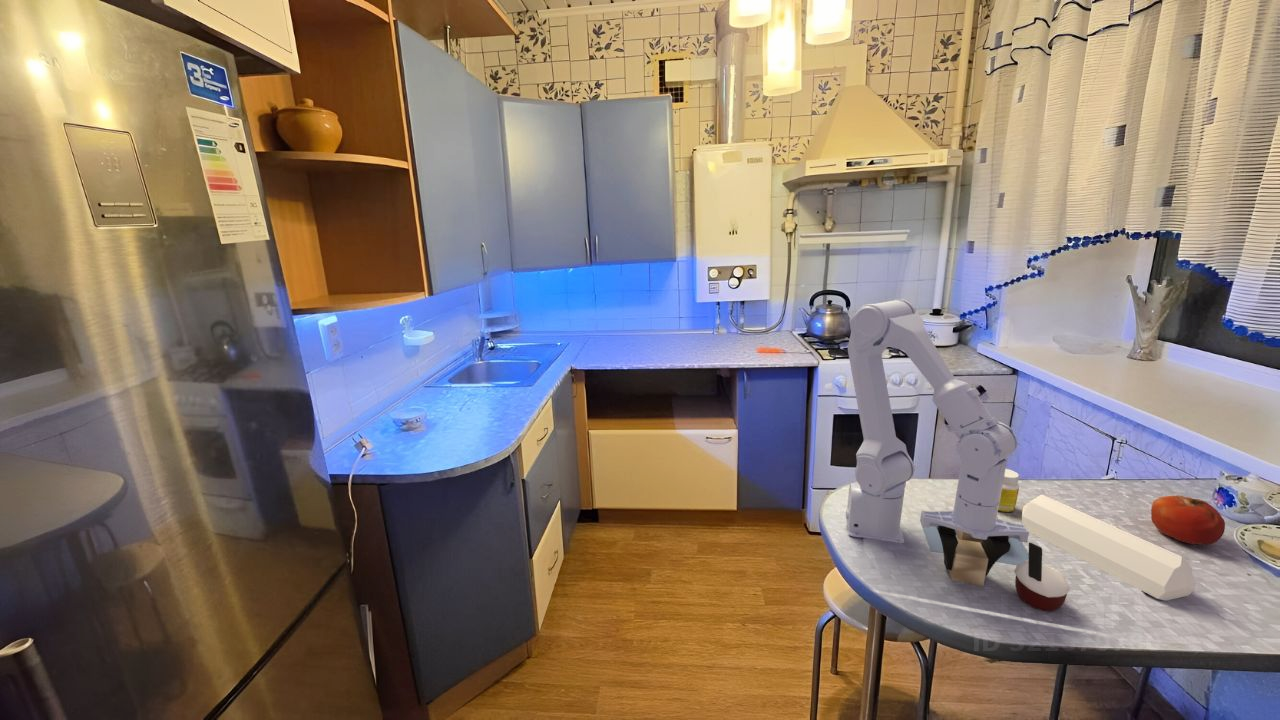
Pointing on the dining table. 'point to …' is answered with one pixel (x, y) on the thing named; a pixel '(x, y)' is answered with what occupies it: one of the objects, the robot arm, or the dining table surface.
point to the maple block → (969, 563)
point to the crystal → (1110, 549)
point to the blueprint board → (1014, 557)
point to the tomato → (1187, 519)
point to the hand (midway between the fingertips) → (964, 569)
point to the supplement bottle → (1009, 493)
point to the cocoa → (1040, 582)
